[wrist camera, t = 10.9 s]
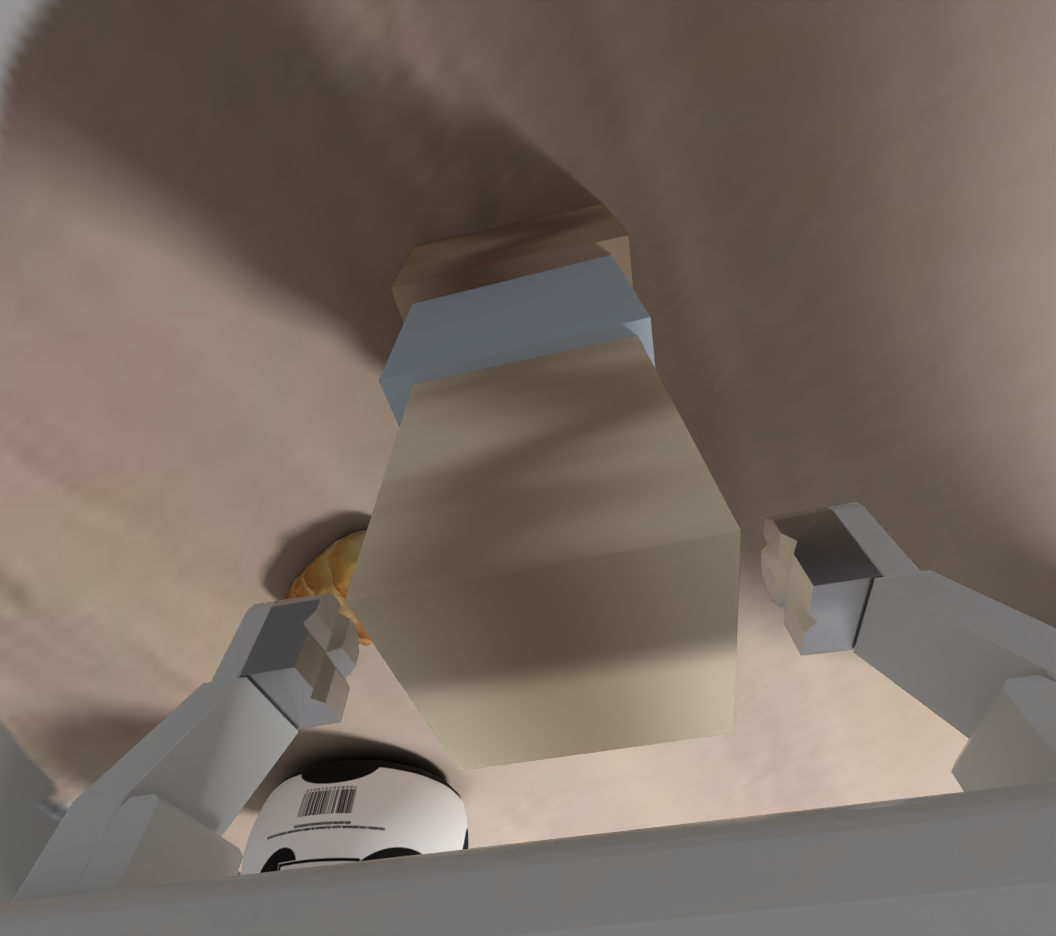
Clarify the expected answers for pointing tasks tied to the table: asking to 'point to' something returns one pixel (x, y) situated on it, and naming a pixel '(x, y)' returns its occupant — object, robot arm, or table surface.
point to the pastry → (333, 576)
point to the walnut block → (510, 254)
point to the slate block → (514, 325)
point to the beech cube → (553, 562)
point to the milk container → (354, 817)
